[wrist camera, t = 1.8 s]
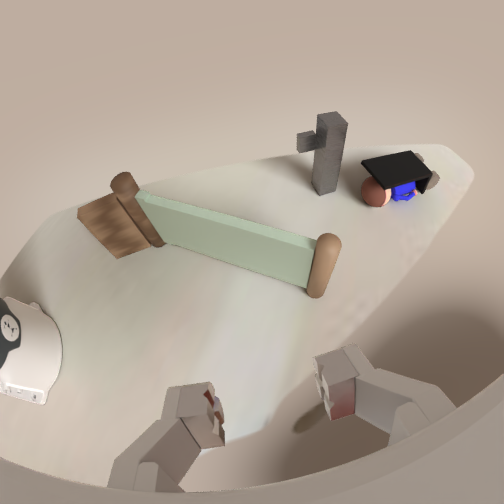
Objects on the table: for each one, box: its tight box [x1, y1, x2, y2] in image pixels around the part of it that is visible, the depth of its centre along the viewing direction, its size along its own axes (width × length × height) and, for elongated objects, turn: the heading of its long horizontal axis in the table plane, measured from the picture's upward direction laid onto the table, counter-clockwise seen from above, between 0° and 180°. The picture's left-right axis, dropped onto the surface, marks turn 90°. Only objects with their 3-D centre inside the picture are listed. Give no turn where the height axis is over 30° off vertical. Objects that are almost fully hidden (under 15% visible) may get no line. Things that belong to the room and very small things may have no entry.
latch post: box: [297, 112, 348, 196], centre depth 39 cm, size 6×4×14 cm
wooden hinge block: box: [77, 172, 166, 259], centre depth 37 cm, size 10×3×14 cm, turn 108°
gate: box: [135, 190, 342, 298], centre depth 34 cm, size 24×2×12 cm, turn 68°
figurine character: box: [361, 150, 440, 207], centre depth 40 cm, size 7×8×15 cm
